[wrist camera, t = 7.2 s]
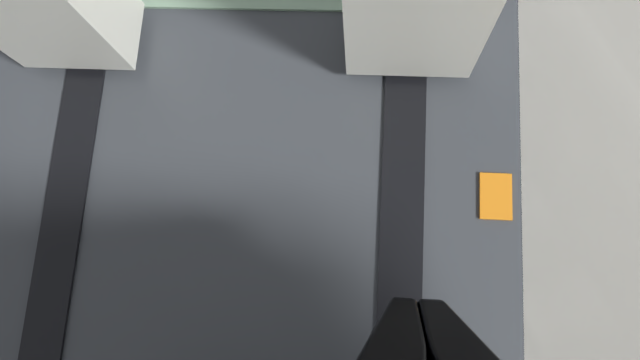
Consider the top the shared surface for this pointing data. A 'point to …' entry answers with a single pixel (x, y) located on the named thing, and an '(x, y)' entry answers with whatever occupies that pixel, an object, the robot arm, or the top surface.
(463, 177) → the breaker panel
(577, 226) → the top surface
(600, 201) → the top surface
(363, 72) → the block
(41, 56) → the block
